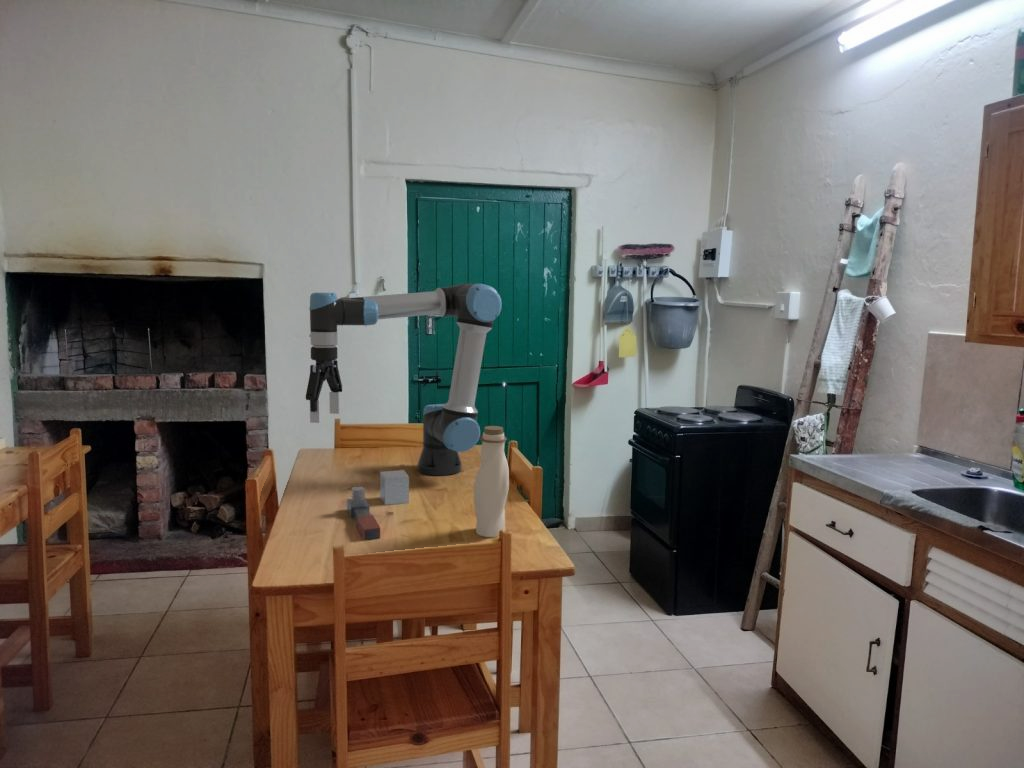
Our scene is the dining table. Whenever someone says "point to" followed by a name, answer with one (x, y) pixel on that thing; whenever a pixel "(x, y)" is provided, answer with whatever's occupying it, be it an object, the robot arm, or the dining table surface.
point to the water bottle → (491, 483)
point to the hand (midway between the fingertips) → (325, 417)
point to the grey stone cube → (394, 487)
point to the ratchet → (362, 515)
